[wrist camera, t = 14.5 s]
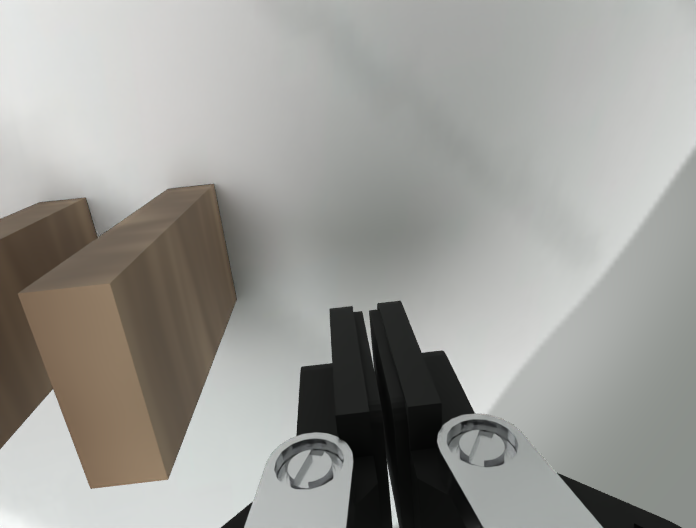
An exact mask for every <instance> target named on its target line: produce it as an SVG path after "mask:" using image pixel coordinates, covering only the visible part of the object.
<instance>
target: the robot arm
mask: <svg viewBox="0 0 696 528" xmlns="http://www.w3.org/2000/svg"><path fill="white" fill-rule="evenodd" d="M369 316H370V328H371V339H372V350H373V361H374V367H373V363H372V358H371V353H370V348H369V343H368V338H367V333H366V328H365V323H364V318H363V313H362V311H360V312H353V307H352V306H350V307H342V308H333V309H330V327H331V346H332V363H330V364H321V365H313V366H304V367H301V373H300V389H299V404H298V420H297V436H296V437H293V438H290V439H289V440H287V441H285V442H284V443H282V444H280V445H279V446H278V447H277V448H276V449H275V450H274V451H273V452H272V453H271V455H270V457H269V459H268V460H267V462H266V465H265V468H264V471H263V474H262V477H261V479H260V482H259V485H258V488H257V491H256V494H255V497H254V500H253V502H252V503H250V504H249V505H248V506H247V507H246V508H244V509H243V510H242V511H241V512H239V513H238V514H237V515H236V516H235V517H233V518H232V519H231V520H230V521H228V522H227V523H226V524H225V525H224V526H222V527H221V528H392V516H391V505H390V493H389V482H388V470H387V464H388V469H389V475H390V480H391V485H392V491H393V496H394V501H395V507H396V512H397V517H398V523H399V528H681V527H680V526H678V525H676V524H674V523H672V522H670V521H668V520H666V519H664V518H661V517H659V516H657V515H654V514H652V513H649V512H647V511H645V510H643V509H640V508H638V507H636V506H633V505H631V504H629V503H626V502H624V501H621V500H619V499H617V498H615V497H612V496H610V495H608V494H605V493H603V492H601V491H598V490H596V489H594V488H591V487H589V486H587V485H584V484H582V483H580V482H577V481H575V480H572V479H570V478H568V477H566V476H563V475H561V474H558V473H556V472H555V471H554V469H553V468H552V467H551V466H550V465H549V463H548V462H547V461H546V460H545V459H544V457H543V456H542V455H541V454H540V453H539V452H538V450H537V449H536V448H535V447H534V446H533V445H532V444H531V442H530V441H529V440H528V439H527V437H526V436H525V435H524V434H523V433H522V432H521V431H520V430H519V429H518V428H517V427H515V426H514V425H513V424H511V423H510V422H508V421H506V420H504V419H502V418H499V417H495V416H492V415H488V414H476V413H474V411H473V409H472V407H471V405H470V403H469V401H468V399H467V397H466V394H465V392H464V390H463V388H462V386H461V384H460V382H459V380H458V378H457V376H456V374H455V372H454V370H453V368H452V366H451V364H450V362H449V360H448V358H447V356H446V354H445V352H444V351H434V352H425V353H421V350H420V348H419V345H418V343H417V340H416V338H415V335H414V333H413V330H412V328H411V325H410V323H409V320H408V318H407V315H406V313H405V310H404V308H403V305H402V303H401V301H394V302H386V303H378V304H377V310H369Z"/></svg>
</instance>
